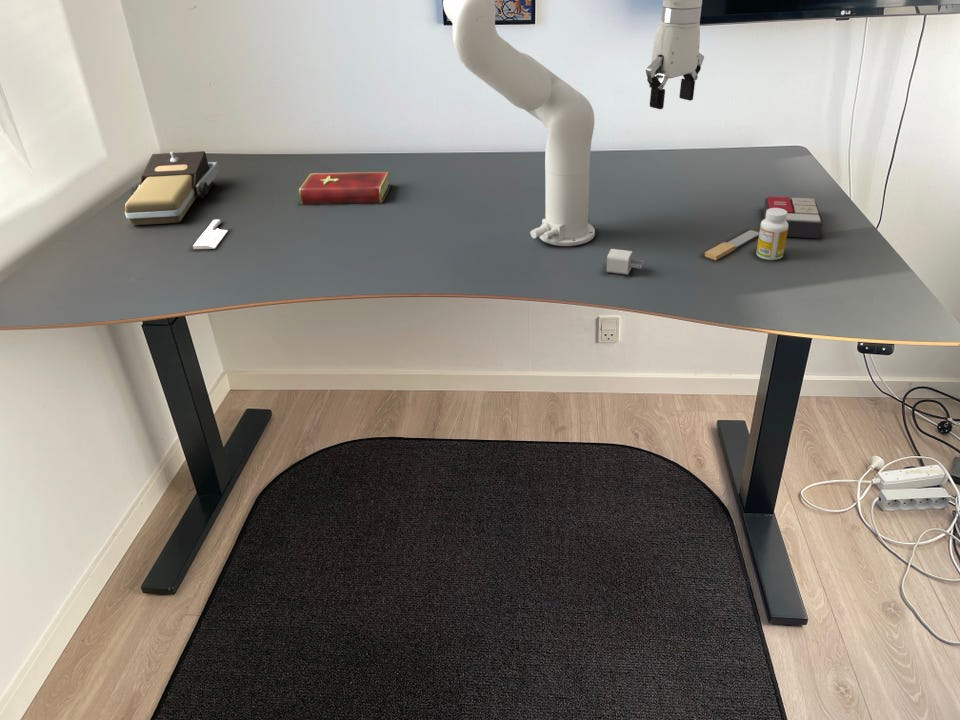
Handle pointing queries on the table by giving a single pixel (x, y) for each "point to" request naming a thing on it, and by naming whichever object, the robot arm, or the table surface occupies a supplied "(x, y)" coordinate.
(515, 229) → the table surface
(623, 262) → the usb wall charger
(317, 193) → the hardcover book
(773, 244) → the supplement bottle
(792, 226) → the calculator
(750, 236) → the chisel
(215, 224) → the butcher knife
